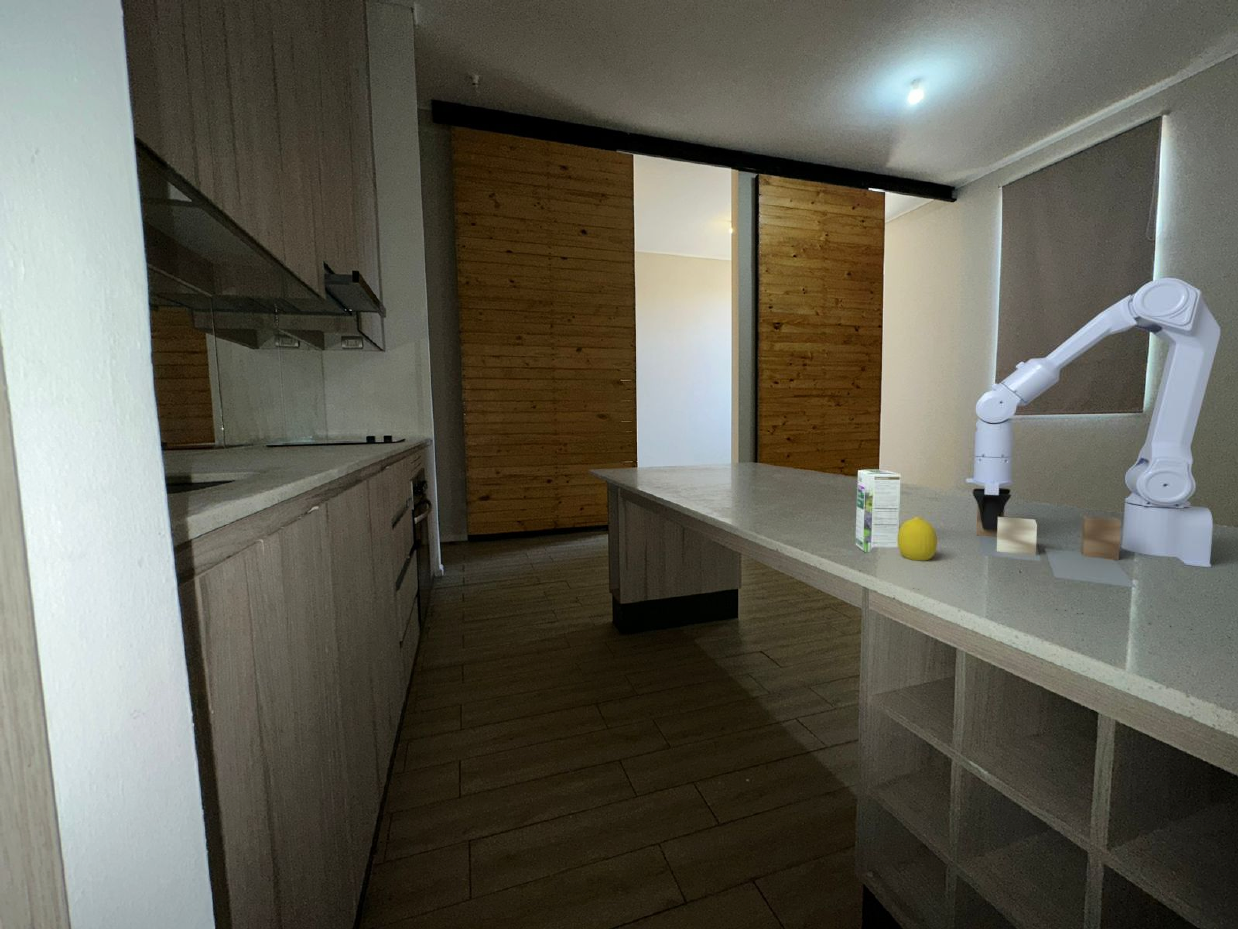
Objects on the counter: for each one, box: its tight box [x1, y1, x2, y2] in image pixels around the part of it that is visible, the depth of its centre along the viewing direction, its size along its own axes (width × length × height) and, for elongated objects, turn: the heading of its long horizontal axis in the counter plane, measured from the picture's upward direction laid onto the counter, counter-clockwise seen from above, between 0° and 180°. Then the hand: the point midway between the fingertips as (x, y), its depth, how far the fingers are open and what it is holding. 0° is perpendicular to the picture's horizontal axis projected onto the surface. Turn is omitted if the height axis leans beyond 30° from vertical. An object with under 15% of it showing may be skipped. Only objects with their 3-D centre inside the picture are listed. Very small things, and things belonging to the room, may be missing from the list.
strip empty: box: [1044, 515, 1137, 588], centre depth 74 cm, size 8×18×7 cm, turn 143°
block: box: [997, 516, 1038, 555], centre depth 83 cm, size 5×5×5 cm
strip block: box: [976, 506, 1042, 562], centre depth 86 cm, size 8×18×7 cm, turn 143°
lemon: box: [897, 516, 938, 562], centre depth 80 cm, size 6×6×8 cm
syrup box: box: [855, 468, 902, 553], centre depth 90 cm, size 6×6×14 cm
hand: (990, 527), depth 94 cm, fingers closed on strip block, 3 cm apart
